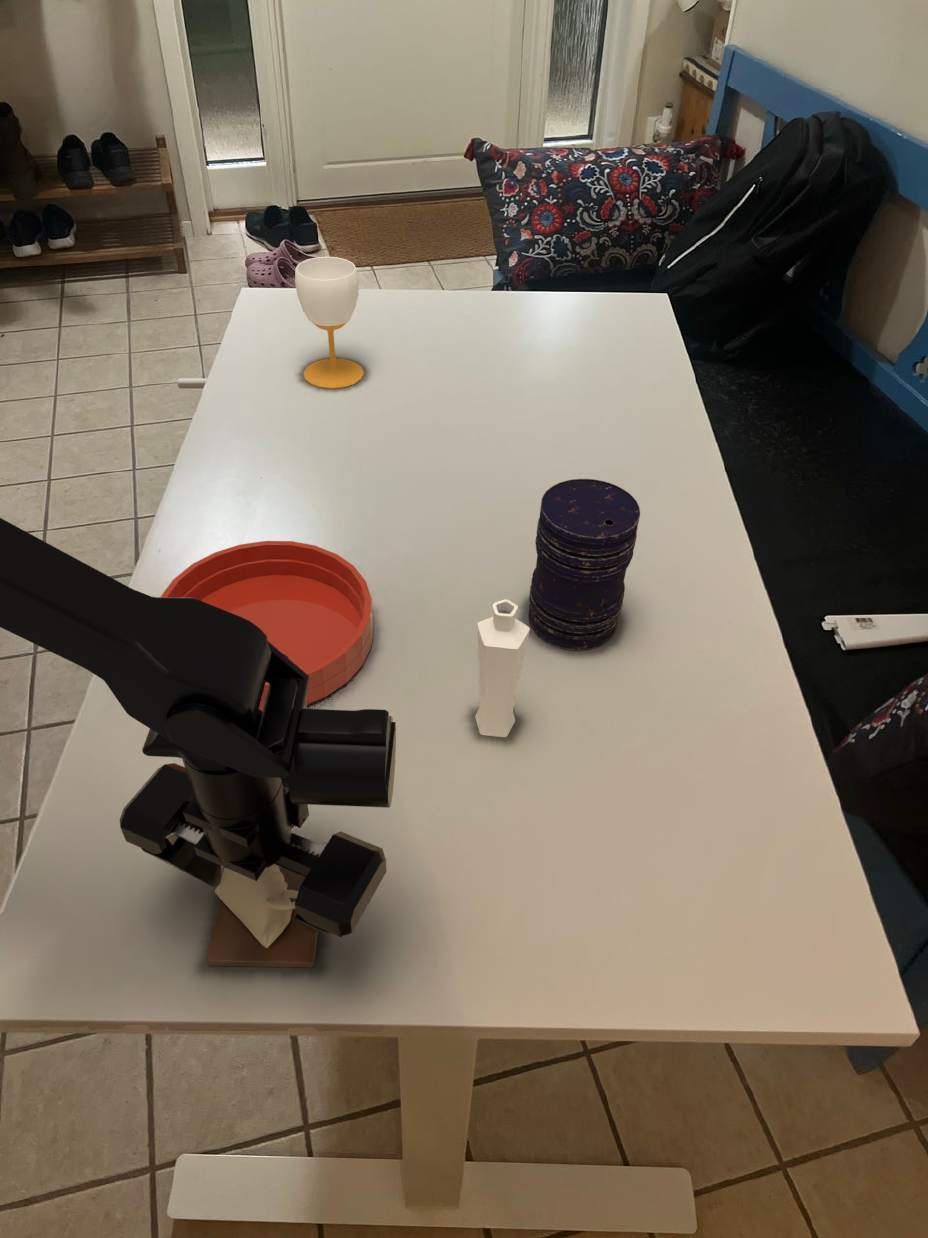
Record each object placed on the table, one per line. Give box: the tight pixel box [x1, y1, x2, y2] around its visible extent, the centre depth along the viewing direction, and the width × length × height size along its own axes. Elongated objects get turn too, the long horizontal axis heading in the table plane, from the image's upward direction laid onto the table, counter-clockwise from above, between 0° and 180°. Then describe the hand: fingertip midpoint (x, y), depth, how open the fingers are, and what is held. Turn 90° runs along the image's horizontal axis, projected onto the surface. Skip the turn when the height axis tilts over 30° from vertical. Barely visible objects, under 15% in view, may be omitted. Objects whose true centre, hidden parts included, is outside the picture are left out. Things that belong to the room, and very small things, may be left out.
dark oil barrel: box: [527, 478, 641, 651], centre depth 91 cm, size 10×10×15 cm
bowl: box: [160, 540, 374, 712], centre depth 91 cm, size 21×21×4 cm
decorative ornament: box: [214, 864, 299, 948], centre depth 68 cm, size 4×8×5 cm, turn 44°
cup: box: [294, 256, 365, 390], centre depth 129 cm, size 9×9×16 cm
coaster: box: [205, 867, 319, 968], centre depth 70 cm, size 8×8×1 cm
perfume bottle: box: [475, 598, 531, 738], centre depth 80 cm, size 5×4×15 cm
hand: (266, 904), depth 68 cm, fingers open, 9 cm apart
